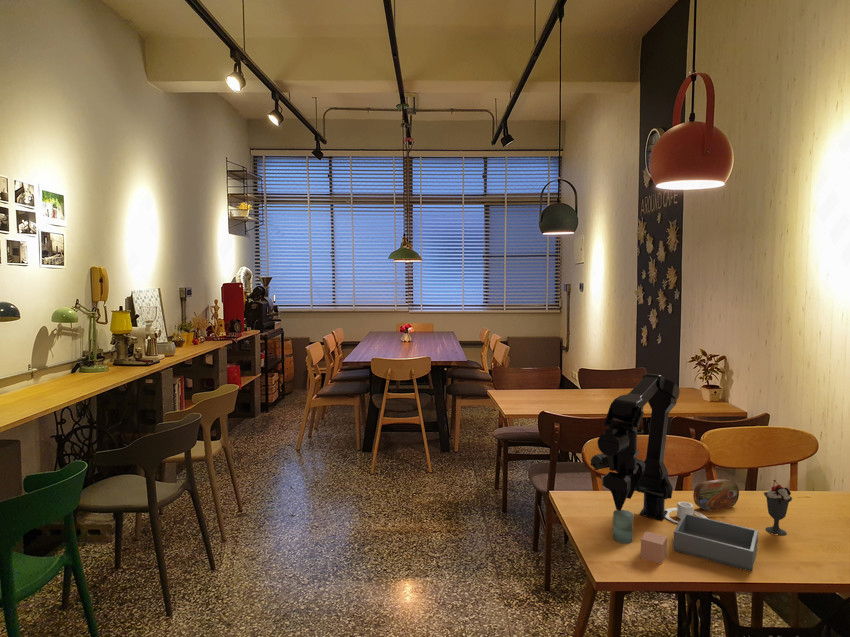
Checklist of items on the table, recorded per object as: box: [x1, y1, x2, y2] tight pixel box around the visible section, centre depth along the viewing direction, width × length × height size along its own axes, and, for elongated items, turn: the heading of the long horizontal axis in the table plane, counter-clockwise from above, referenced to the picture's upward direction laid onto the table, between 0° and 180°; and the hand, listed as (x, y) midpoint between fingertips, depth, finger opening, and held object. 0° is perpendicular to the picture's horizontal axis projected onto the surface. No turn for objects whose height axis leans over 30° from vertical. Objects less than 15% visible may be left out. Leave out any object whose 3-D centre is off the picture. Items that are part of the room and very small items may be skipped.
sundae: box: [763, 479, 793, 536], centre depth 149 cm, size 7×7×15 cm
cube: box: [640, 531, 668, 565], centre depth 136 cm, size 5×5×5 cm
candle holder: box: [664, 501, 709, 524], centre depth 158 cm, size 12×12×4 cm
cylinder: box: [612, 509, 634, 545], centre depth 145 cm, size 5×5×7 cm
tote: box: [672, 513, 759, 572], centre depth 139 cm, size 13×17×5 cm
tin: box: [692, 478, 740, 512], centre depth 165 cm, size 15×3×8 cm, turn 105°
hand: (623, 504), depth 145 cm, fingers open, 9 cm apart
